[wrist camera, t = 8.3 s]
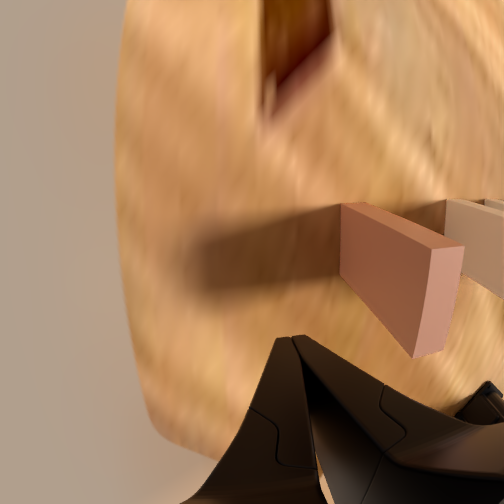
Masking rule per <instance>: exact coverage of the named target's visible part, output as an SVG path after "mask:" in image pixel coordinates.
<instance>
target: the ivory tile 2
mask: <svg viewBox="0 0 504 504" xmlns="http://www.w3.org/2000/svg"><path fill="white" fill-rule="evenodd" d="M484 206H488V207H491V208H494V209H497V210H500V211H503V212H504V201H502V200H499V199H485V202H484Z"/></svg>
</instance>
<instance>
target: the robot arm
mask: <svg viewBox="0 0 504 504" xmlns="http://www.w3.org/2000/svg"><path fill="white" fill-rule="evenodd" d="M502 397H503V394H502V393H501V392H500V391H499V390H498V389H497V388H496V387H495V386H494V385H493V383H492V382H491V381H488V382H487V383H486V384H485V385H484V387H483V388H482V389H481V390H480V391H479V392H478V393H477V394H476V395H475V397H474V398H473V399H472V400H471V401H470V402H469V403H468V404H467V405H466V406H465V407H464V408H463V409H462V410H461V411H460V412H459V413H458V414H457V415H456V416H455V417H454V418H453V417H451V416H449V415H446V414H444V413H442V412H439V411H437V410H434V409H432V408H430V407H428V406H425V405H423V404H421V403H419V402H417V401H415V400H413V399H411V398H409V397H407V396H405V395H403V394H401V393H400V392H398V391H396V390H394V389H393V388H391V387H389V386H388V385H385V386H384V383H382V382H381V381H379V380H377V379H376V378H374V377H372V376H371V375H369V374H367V373H366V372H364V371H363V370H361V369H359V368H358V367H356V366H354V365H353V364H351V363H349V362H348V361H346V360H345V359H343V358H341V357H340V356H338V355H337V354H335V353H333V352H332V351H330V350H329V349H327V348H325V347H324V346H322V345H321V344H319V343H318V342H316V341H314V340H313V339H311V338H310V337H308V336H307V335H296V336H292V337H291V338H290V337H281V338H276V339H275V342H274V344H273V347H272V350H271V352H270V355H269V358H268V360H267V363H266V366H265V368H264V371H263V373H262V376H261V378H260V381H259V383H258V386H257V389H256V391H255V394H254V396H253V399H252V401H251V403H250V406H249V409H248V410H247V413H246V415H245V418H244V420H243V422H242V424H241V426H240V428H239V431H238V433H237V434H236V436H235V438H234V439H233V441H232V443H231V444H230V446H229V448H228V449H227V451H226V452H225V454H224V455H223V457H222V458H221V460H220V461H219V463H218V464H217V465H216V467H215V468H214V470H213V471H212V473H211V474H210V476H209V477H208V479H207V480H206V481H205V483H204V484H203V485H202V486H201V488H200V489H199V490H198V491H197V492H196V493H195V494H194V495H193V496H192V497H190V498H189V499H188V500H186V501H184V502H182V503H180V504H328V503H327V501H326V499H325V497H324V494H323V492H322V490H321V486H320V482H319V476H318V471H317V470H318V468H317V461H316V454H317V457H318V459H319V462H320V465H321V468H322V470H323V473H324V476H325V478H326V481H327V484H328V487H329V489H330V492H331V495H332V498H333V500H334V503H335V504H504V400H503V399H502ZM315 451H316V454H315Z"/></svg>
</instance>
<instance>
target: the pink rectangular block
mask: <svg viewBox="0 0 504 504" xmlns="http://www.w3.org/2000/svg"><path fill="white" fill-rule="evenodd" d="M464 248H465V246H464V245H462V244H460V243H458V242H456V241H454V240H452V239H450V238H447V237H445V236H443V235H441V234H439V233H436V232H434V231H432V230H430V229H428V228H425V227H423V226H421V225H418V224H416V223H414V222H412V221H409V220H407V219H405V218H402V217H400V216H397V215H395V214H393V213H390V212H388V211H385V210H383V209H380V208H378V207H375V206H373V205H370V204H368V203H342V204H341V232H340V272H339V275H340V276H341V277H342V278H343V279H344V280H345V281H346V283H347V284H348V285H349V286H350V287H351V288H352V289H353V290H354V292H355V293H356V294H357V295H358V296H359V297H360V298H361V299H362V301H363V302H364V303H365V304H366V305H367V306H368V307H369V309H370V310H371V311H372V312H373V313H374V314H375V315H376V317H377V318H378V319H379V320H380V321H381V322H382V324H383V325H384V326H385V327H386V328H387V329H388V331H389V332H390V333H391V334H392V335H393V336H394V338H395V339H396V340H397V341H398V342H399V344H400V345H401V346H402V347H403V348H404V350H405V351H406V352H407V353H408V354H409V356H410V357H411V358H412V359H414V358H418V357H422V356H425V355H429V354H432V353H436V352H439V351H442V350H444V346H445V343H446V339H447V335H448V331H449V327H450V323H451V319H452V315H453V311H454V306H455V301H456V296H457V291H458V286H459V280H460V275H461V269H462V262H463V255H464Z"/></svg>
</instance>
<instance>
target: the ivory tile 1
mask: <svg viewBox="0 0 504 504" xmlns="http://www.w3.org/2000/svg"><path fill="white" fill-rule="evenodd" d="M444 236H445V237H447V238H450V239H452V240H454V241H456V242H458V243H460V244H462V245H464V246H465V248H464V255H463V262H462V269H461V273H463V274H464V275H466V276H467V277H469V278H471V279H472V280H474V281H476V282H477V283H479V284H480V285H482V286H483V287H485V288H487V289H488V290H490V291H491V292H493V293H494V294H496V295H497V296H499V297H500V298H502V299H503V300H504V212H503V211H500V210H497V209H494V208H491V207H488V206H484V205H481V204H478V203H474V202H471V201H467V200H464V199H446V217H445V230H444Z"/></svg>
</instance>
